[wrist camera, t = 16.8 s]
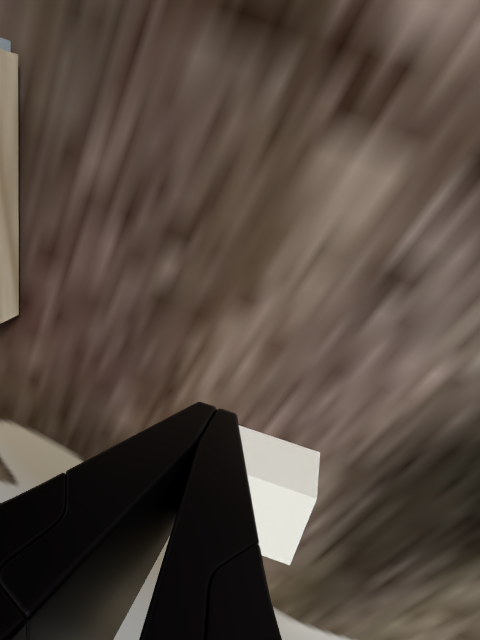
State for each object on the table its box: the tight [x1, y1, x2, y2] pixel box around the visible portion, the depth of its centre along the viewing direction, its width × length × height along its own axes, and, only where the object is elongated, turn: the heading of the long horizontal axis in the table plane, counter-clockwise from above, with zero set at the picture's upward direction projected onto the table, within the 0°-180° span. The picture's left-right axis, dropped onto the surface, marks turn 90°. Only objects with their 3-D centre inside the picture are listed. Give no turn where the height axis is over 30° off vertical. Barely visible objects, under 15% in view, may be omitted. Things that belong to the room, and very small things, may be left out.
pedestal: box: [239, 426, 320, 565], centre depth 23 cm, size 5×5×4 cm
